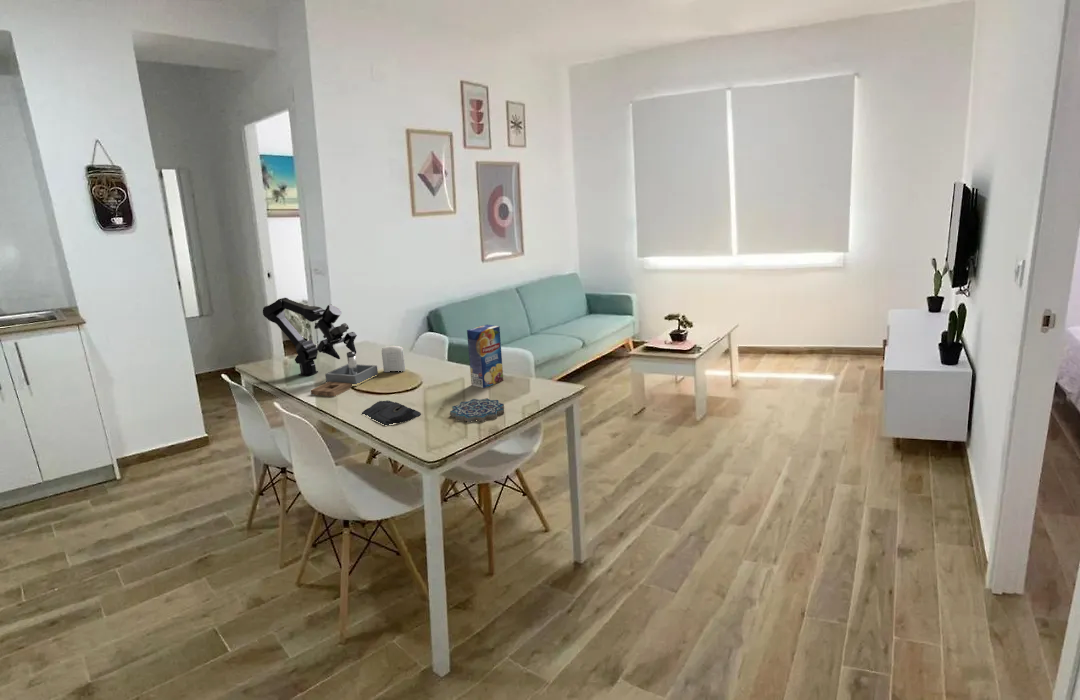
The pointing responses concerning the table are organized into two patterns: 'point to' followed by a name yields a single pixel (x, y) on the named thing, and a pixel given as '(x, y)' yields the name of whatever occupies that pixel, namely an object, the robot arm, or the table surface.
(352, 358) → the clear glass cylinder
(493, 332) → the juice carton
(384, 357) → the photo printer
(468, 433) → the table surface
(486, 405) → the decorative tile
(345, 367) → the tray
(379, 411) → the dark slate chunk
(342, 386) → the bracket
